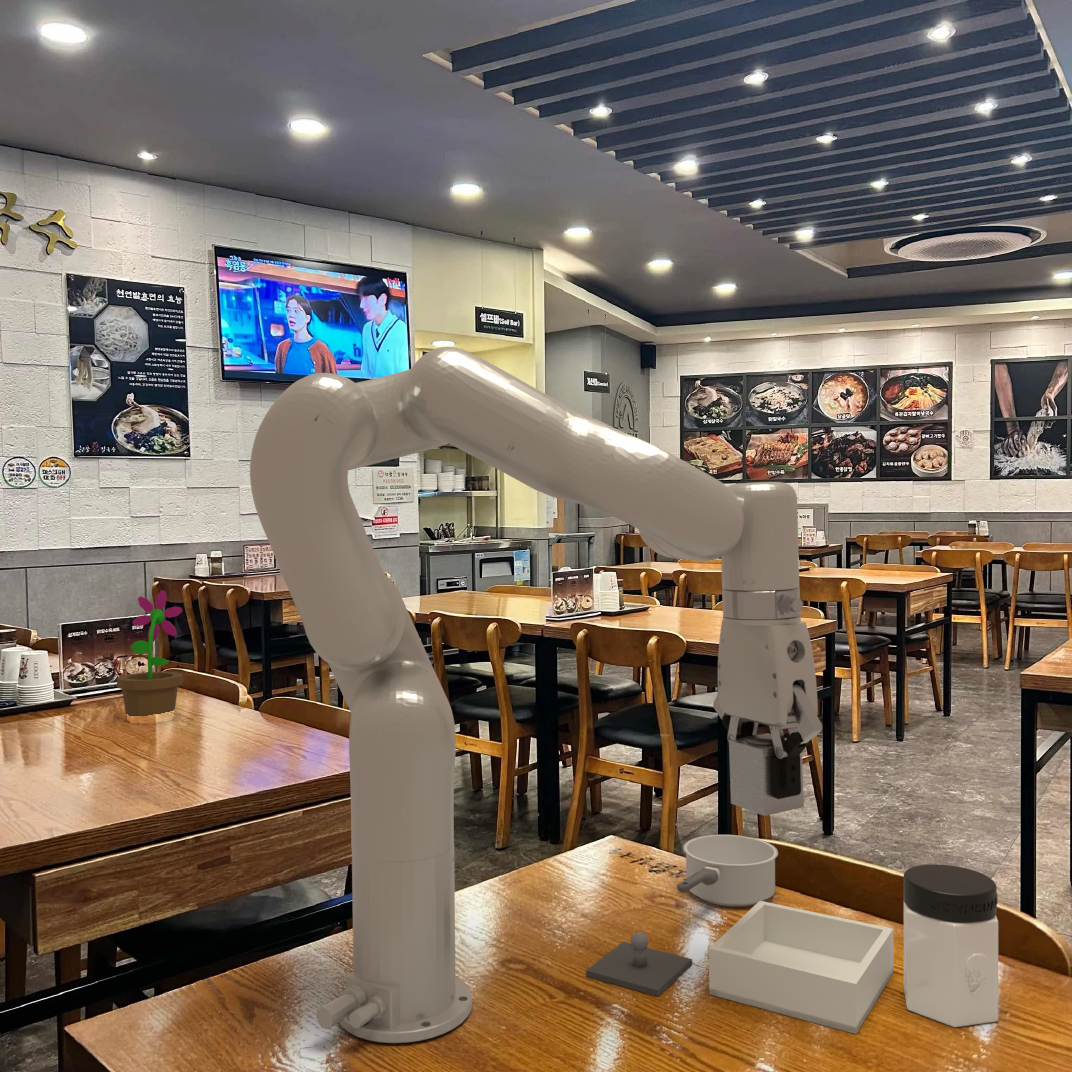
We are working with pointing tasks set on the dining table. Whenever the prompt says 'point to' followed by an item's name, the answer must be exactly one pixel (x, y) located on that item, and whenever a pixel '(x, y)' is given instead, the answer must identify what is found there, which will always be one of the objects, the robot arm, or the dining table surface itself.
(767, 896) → the saucepan
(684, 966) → the ball stud
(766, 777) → the metal block
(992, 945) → the jar
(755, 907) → the bin
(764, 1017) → the dining table surface
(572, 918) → the dining table surface
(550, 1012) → the dining table surface
